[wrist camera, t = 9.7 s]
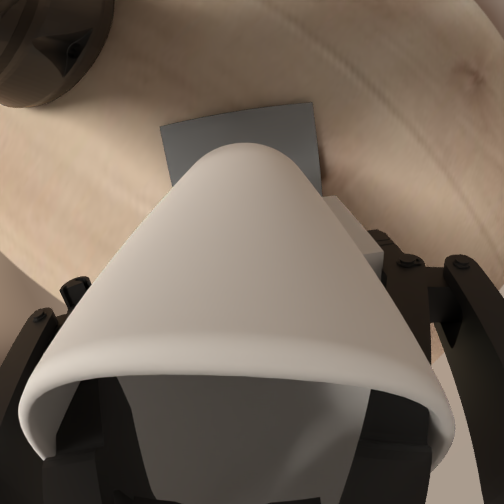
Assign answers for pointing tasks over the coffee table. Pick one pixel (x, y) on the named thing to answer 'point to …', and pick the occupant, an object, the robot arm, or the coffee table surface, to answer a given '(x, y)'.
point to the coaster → (246, 137)
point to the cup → (239, 340)
